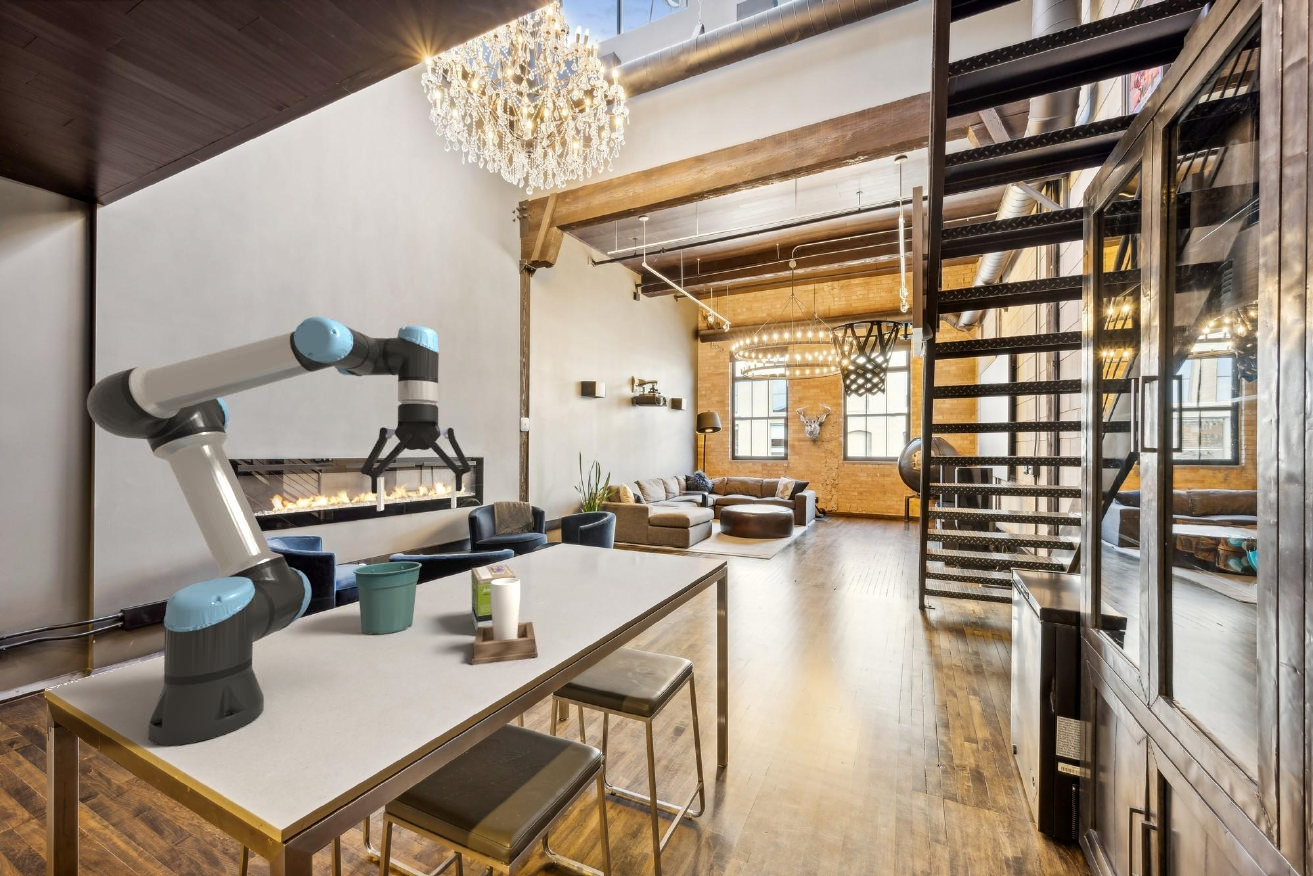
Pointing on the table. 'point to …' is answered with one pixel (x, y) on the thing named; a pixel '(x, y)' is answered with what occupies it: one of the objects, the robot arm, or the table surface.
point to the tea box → (485, 592)
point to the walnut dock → (504, 645)
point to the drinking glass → (505, 608)
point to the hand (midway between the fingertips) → (417, 509)
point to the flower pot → (387, 596)
